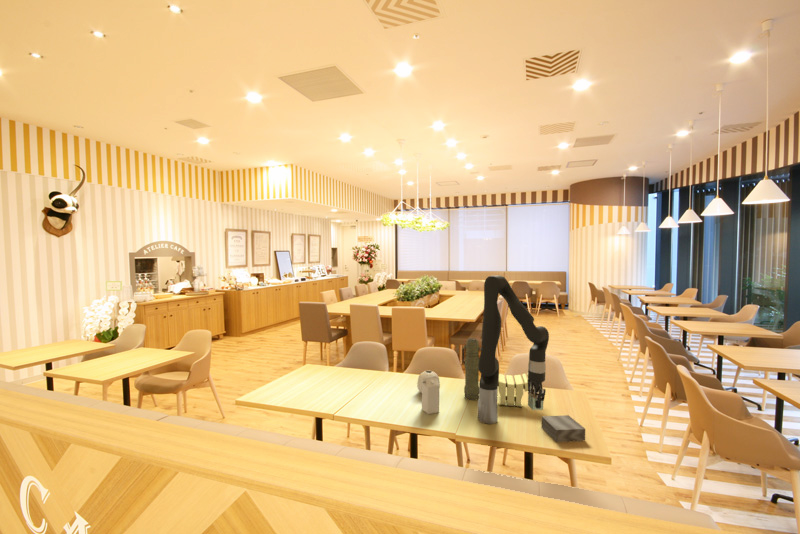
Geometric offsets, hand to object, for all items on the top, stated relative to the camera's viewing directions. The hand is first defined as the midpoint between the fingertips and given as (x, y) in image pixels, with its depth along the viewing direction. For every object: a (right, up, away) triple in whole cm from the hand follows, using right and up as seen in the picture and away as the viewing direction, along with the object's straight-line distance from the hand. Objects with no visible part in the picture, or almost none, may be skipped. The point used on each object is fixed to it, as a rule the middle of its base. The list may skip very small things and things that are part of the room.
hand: (535, 405), depth 170 cm
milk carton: (-47, -14, +30) cm, 57 cm away
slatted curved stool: (+1, -14, +42) cm, 44 cm away
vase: (-46, -13, +55) cm, 73 cm away
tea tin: (0, -1, 0) cm, 1 cm away
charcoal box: (+15, -16, +5) cm, 22 cm away
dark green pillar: (-20, -14, +49) cm, 55 cm away
